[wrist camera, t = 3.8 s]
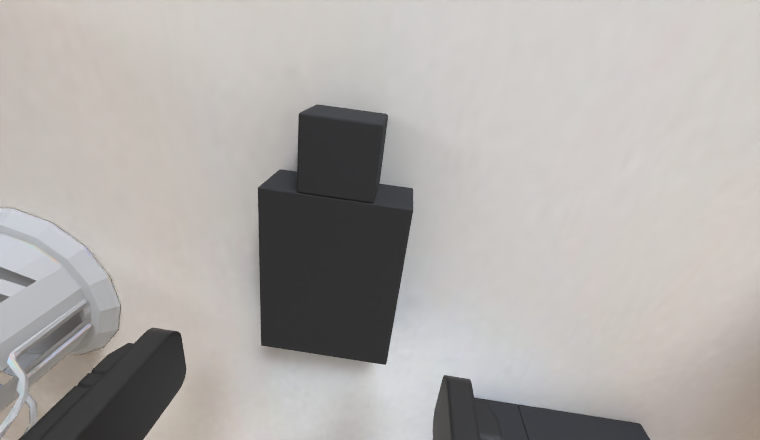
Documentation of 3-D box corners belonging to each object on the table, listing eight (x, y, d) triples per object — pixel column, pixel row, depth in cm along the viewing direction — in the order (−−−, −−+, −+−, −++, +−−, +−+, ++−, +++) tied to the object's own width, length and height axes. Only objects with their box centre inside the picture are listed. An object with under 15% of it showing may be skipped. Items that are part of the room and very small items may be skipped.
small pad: (389, 328, 19) (386, 365, 17) (278, 312, 19) (260, 345, 17) (424, 119, 15) (427, 130, 12) (279, 98, 15) (255, 106, 13)
